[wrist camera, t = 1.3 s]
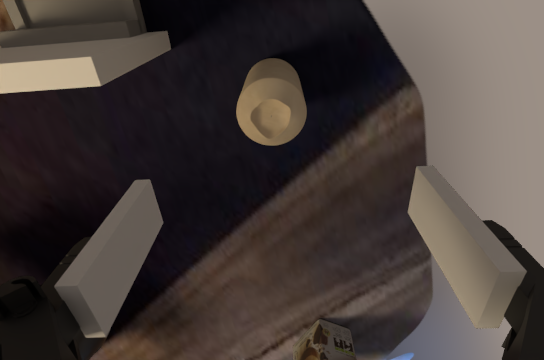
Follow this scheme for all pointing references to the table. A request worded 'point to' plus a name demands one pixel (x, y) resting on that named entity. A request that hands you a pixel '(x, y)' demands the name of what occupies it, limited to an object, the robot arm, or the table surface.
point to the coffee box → (325, 343)
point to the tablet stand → (74, 43)
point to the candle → (271, 103)
